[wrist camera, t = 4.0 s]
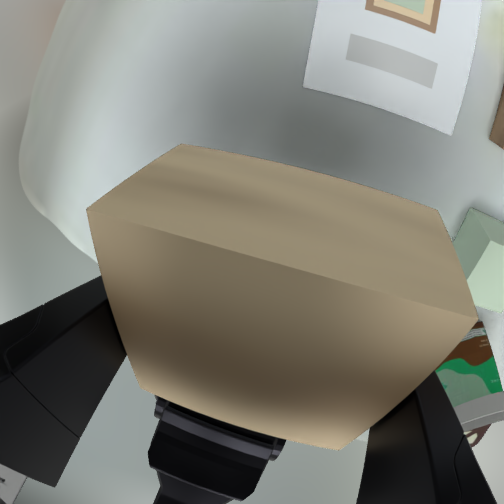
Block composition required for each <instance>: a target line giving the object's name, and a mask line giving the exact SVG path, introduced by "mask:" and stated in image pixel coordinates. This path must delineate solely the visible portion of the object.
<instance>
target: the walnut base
mask: <svg viewBox="0 0 504 504" xmlns="http://www.w3.org/2000/svg"><path fill="white" fill-rule="evenodd" d="M489 139H490V140H491V141H493V142H494V143H495V144H497V145H498V146H500V147H501V148H502V149H504V86H503V90H502V94H501V98H500V102H499V106H498V110H497V114H496V117H495V121H494V124H493V127H492V131H491V134H490V137H489Z"/></svg>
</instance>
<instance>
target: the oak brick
mask: <svg viewBox="0 0 504 504" xmlns="http://www.w3.org/2000/svg"><path fill="white" fill-rule="evenodd" d="M86 211H87V216H88V221H89V226H90V231H91V235H92V240H93V244H94V248H95V252H96V256H97V260H98V264H99V268H100V272H101V276H102V279H103V283H104V286H105V290H106V293H107V297H108V300H109V303H110V306H111V310H112V313H113V316H114V319H115V322H116V325H117V328H118V331H119V334H120V336H121V339H122V342H123V345H124V348H125V350H126V353H127V356H128V358H129V361H130V363H131V366H132V368H133V371H134V373H135V376H136V378H137V381H138V383H139V386H140V388H141V389H144V390H146V391H148V392H150V393H152V394H155V395H157V396H159V397H161V398H164V399H166V400H168V401H171V402H173V403H176V404H178V405H181V406H183V407H186V408H188V409H191V410H193V411H196V412H199V413H201V414H204V415H207V416H210V417H212V418H215V419H218V420H221V421H224V422H227V423H230V424H233V425H236V426H239V427H243V428H246V429H249V430H253V431H256V432H260V433H263V434H267V435H270V436H274V437H278V438H282V439H286V440H290V441H294V442H299V443H303V444H308V445H312V446H317V447H322V448H328V449H334V450H340V449H342V448H343V447H345V446H346V445H347V444H349V443H350V442H352V441H353V440H354V439H356V438H357V437H358V436H360V435H361V434H362V433H364V432H365V431H366V430H368V429H369V428H370V427H371V426H373V425H374V424H375V423H376V422H378V421H379V420H380V419H381V418H383V417H384V416H385V415H386V414H387V413H389V412H390V411H391V410H392V409H393V408H394V407H396V406H397V405H398V404H399V403H400V402H401V401H402V400H403V399H405V398H406V397H407V396H408V395H409V394H410V393H411V392H412V391H413V390H414V389H415V388H416V387H417V386H419V385H420V384H421V383H422V382H423V381H424V380H425V379H426V378H427V377H428V376H429V375H430V374H431V373H432V372H433V371H434V370H435V369H436V368H437V367H438V366H439V365H440V363H441V362H442V361H443V360H444V359H445V358H446V357H447V356H448V355H449V354H450V353H451V352H452V350H453V349H454V348H455V347H456V346H457V345H458V344H459V343H460V341H461V340H462V339H463V338H464V337H465V336H466V334H467V333H468V332H469V331H470V330H471V328H472V327H473V326H474V325H475V323H476V322H477V321H478V320H479V318H478V315H477V311H476V308H475V305H474V301H473V298H472V295H471V292H470V289H469V286H468V283H467V280H466V277H465V275H464V272H463V269H462V267H461V264H460V261H459V259H458V256H457V254H456V251H455V249H454V246H453V244H452V241H451V239H450V237H449V234H448V232H447V230H446V227H445V225H444V223H443V221H442V219H441V216H440V214H439V212H438V210H436V209H433V208H430V207H427V206H425V205H422V204H419V203H416V202H413V201H410V200H408V199H405V198H402V197H399V196H396V195H393V194H390V193H386V192H383V191H380V190H377V189H374V188H371V187H367V186H364V185H361V184H357V183H354V182H351V181H347V180H344V179H340V178H337V177H333V176H329V175H326V174H322V173H318V172H314V171H311V170H307V169H303V168H299V167H295V166H291V165H286V164H282V163H278V162H274V161H269V160H265V159H260V158H256V157H251V156H246V155H241V154H236V153H231V152H226V151H221V150H216V149H210V148H204V147H199V146H193V145H187V144H180V145H178V146H176V147H175V148H173V149H171V150H170V151H168V152H167V153H165V154H164V155H162V156H160V157H159V158H157V159H156V160H154V161H153V162H151V163H150V164H148V165H147V166H145V167H144V168H142V169H141V170H139V171H138V172H136V173H135V174H133V175H132V176H130V177H129V178H127V179H126V180H125V181H123V182H122V183H120V184H119V185H118V186H116V187H115V188H113V189H112V190H111V191H109V192H108V193H107V194H105V195H104V196H103V197H101V198H100V199H99V200H97V201H96V202H95V203H93V204H92V205H91V206H89V207H88V208H87V209H86Z"/></svg>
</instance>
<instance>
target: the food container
mask: <svg viewBox="0 0 504 504" xmlns="http://www.w3.org/2000/svg"><path fill="white" fill-rule="evenodd" d="M435 371H436V373H437V375H438V377H439V379H440V381H441V383H442V385H443V387H444V389H445V391H446V393H447V395H448V397H449V399H450V401H451V404H452V406H453V408H454V410H455V412H456V414H457V416H458V419H459V421H460V423H461V425H462V428H463V430H464V434H466V437H467V439H468V441H469V444H470V446H471V447H473V446H475V445H476V444H478V442H479V441H480V440H481V439H482V437H483V436H484V434H485V433H486V431H487V429H488V428H489V427H490V425H491V424H492V423H495V422H499V421H503V420H504V391H503V389H502V385H501V381H500V377H499V373H498V370H497V366H496V362H495V359H494V356H493V352H492V349H491V346H490V343H489V340H488V337H487V334H486V331H485V328H484V325H483V322H476V323H475V325H474V326H473V327H472V328H471V330H470V331H469V332H468V333H467V334H466V336H465V337H464V338H463V339H462V340H461V341H460V343H459V344H458V345H457V346H456V347H455V348H454V349H453V350H452V352H451V353H450V354H449V355H448V356H447V357H446V358H445V359H444V360H443V361H442V362H441V363H440V365H439V366H438V367H437V368H436V369H435Z"/></svg>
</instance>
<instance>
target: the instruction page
mask: <svg viewBox="0 0 504 504" xmlns="http://www.w3.org/2000/svg"><path fill="white" fill-rule="evenodd" d="M481 5H482V0H318V5H317V10H316V16H315V22H314V27H313V33H312V38H311V44H310V49H309V55H308V60H307V65H306V71H305V76H304V81H303V86H302V87H305V88H309V89H314V90H318V91H322V92H326V93H330V94H334V95H337V96H341V97H345V98H348V99H352V100H355V101H358V102H362V103H365V104H368V105H371V106H375V107H378V108H381V109H384V110H387V111H389V112H392V113H395V114H398V115H401V116H403V117H406V118H409V119H411V120H414V121H416V122H419V123H422V124H424V125H426V126H429V127H431V128H434V129H436V130H438V131H441V132H443V133H445V134H447V135H450V136H452V133H453V130H454V126H455V123H456V120H457V117H458V114H459V110H460V107H461V103H462V100H463V96H464V92H465V89H466V85H467V81H468V77H469V73H470V68H471V64H472V59H473V54H474V50H475V44H476V39H477V33H478V27H479V21H480V13H481Z"/></svg>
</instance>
